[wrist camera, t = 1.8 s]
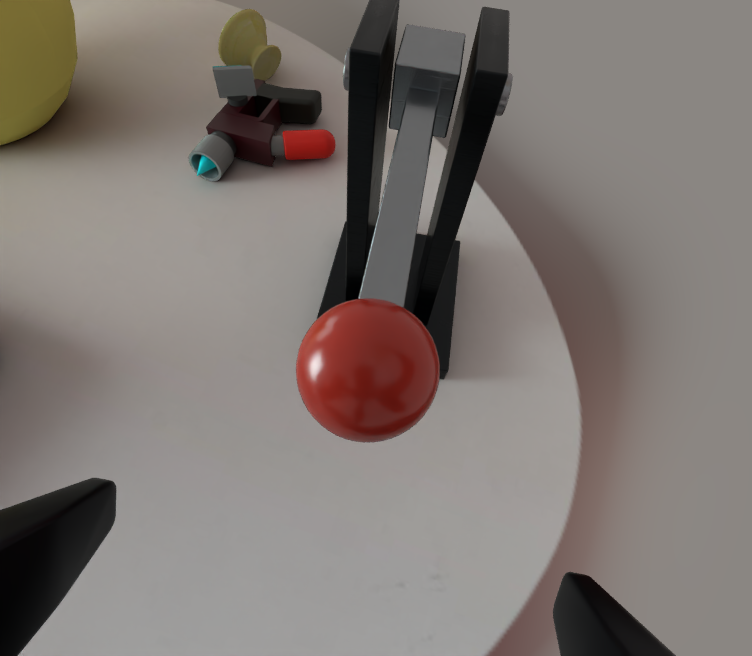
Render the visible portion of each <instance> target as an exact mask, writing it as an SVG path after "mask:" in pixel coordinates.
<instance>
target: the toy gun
mask: <svg viewBox="0 0 752 656" xmlns="http://www.w3.org/2000/svg"><path fill="white" fill-rule="evenodd" d="M213 73H214V77H215V81H216V85H217V89H218V93H219V97H220V98H226V97H227V99H228V103H227V104H226V105H225V106H224V107H223V108H222V110H221V111H220V112H219V113H218V114H217V115H216V116H215V117H214V118H213V120H212V121H211V122H210V123H209V124H208V125H207V127H206V128H207V131H208V135H206V136H205V137H204V138H203V139H202V140H201V142H200V143H199V144H198V145H197V146H196V147H195V149H194V150H193V151H192V152H191V153H190V155H189V163H190V165H191V167H192V168H193V170H194V171H195V172H196V173H197V176H198V175H200V176H201V177H203V178H204V179H206V180H209V181H217V180H219V179H220V178H221V176H222V175H223V174H224V172H225V171H226V170H227V168H228V167H229V166H230V164H231V163H232V162H233V160H234V157H237V158H241V159H245V160H249V161H253V162H256V163H260V164H264V165H268V166H271V167H273V163H274V160H275V156H284V155H285V158H286V159H287V160H299V159H321V158H328V157H330V156H331V155H332V154H333V153H334V151H335V146H336V144H335V139H334V137H333V135H332V134H331V133H330V132H329V131H327V130H323V129H322V130H293V131H283V135H278V136H275V132H276V130H277V129H278V128H279V126H280V125H281V122H294V123H306V124H312V123H314V122H315V121H316V119H317V118H318V116H319V115H320V113H321V111H322V103H321V93H320V92H319V91H316V90H305V89H293V88H282V87H278V86H274V85H270V84H266V83H265V81H263V80H259V79H255V80H254V76H253V70H252V68H251V66H250V65H247V66H242V65H237V66H214V67H213Z"/></svg>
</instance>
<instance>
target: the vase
mask: <svg viewBox="0 0 752 656" xmlns="http://www.w3.org/2000/svg"><path fill="white" fill-rule="evenodd" d="M76 62H77V46H76V33H75V21H74V13H73V9H72V6H71V3H70V0H0V145H4V144H7V143H10V142H12V141H15V140H18V139H21V138H23V137H25V136H27V135H29V134H31V133H33V132H35V131H36V130H38V129H39V128H41V127H42V126H43V125H44V124H46V123H47V122H48V121H49V120H50V119H51V118H52V116H53V115H54V114H55V112H56V111H57V110H58V108H59V107H60V106H61V104H62V103H63V102H64V100H65V99H66V98H67V96H68V92H69V88H70V85H71V81H72V77H73V73H74V70H75V66H76Z"/></svg>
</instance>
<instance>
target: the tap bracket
mask: <svg viewBox="0 0 752 656" xmlns="http://www.w3.org/2000/svg"><path fill="white" fill-rule="evenodd" d="M398 10H399V0H369V2H368V5H367V7H366V10H365V13H364V15H363V17H362V20H361V22H360V25H359V27H358V30H357V32H356V35H355V37H354V40H353V42H352V44H351V47H349V48H348V50H347V52H346V56H345V63H344V71H343V84H344V89H345V90H347V91H349V97H348V164H347V221H346V222H345V224H344V228H343V231H342V235H341V238H340V242H339V245H338V248H337V252H336V255H335V259H334V262H333V265H332V269H331V272H330V276H329V279H328V283H327V286H326V289H325V293H324V296H323V300H322V303H321V307H320V310H319V313H318V317H317V319H318V318H319V317H320V316H321V315H323V314H324V313H325V312H326V311H328V310H329V309H331V308H333V307H334V306H336V305H338V304H341V303H343V302H346V301H350V300H355V299H358V297H359V293H360V289H361V284H362V280H363V276H364V272H365V268H366V263H367V259H368V255H369V251H370V247H371V243H372V238H373V234H374V230H375V226H376V222H377V217H378V213H379V202H380V192H381V182H382V172H383V162H384V152H385V142H386V132H387V122H388V111H389V101H390V91H391V81H392V71H393V61H394V51H395V40H396V30H397V20H398ZM508 60H509V11H508V10H501V9H495V8H489V7H483V8H482V10H481V14H480V19H479V23H478V27H477V31H476V35H475V39H474V43H473V47H472V51H471V56H470V60H469V64H468V68H467V72H466V77H465V81H464V84H463V89H462V93H461V97H460V101H459V105H458V109H457V114H456V118H455V122H454V126H453V130H452V134H451V138H450V142H449V146H448V151H447V155H446V159H445V163H444V167H443V171H442V175H441V180H440V184H439V188H438V192H437V196H436V200H435V204H434V208H433V213H432V217H431V221H430V225H429V229H428V233H427V235H422V234H417V233H416V238H415V244H414V250H413V256H412V262H411V268H410V274H409V280H408V286H407V292H406V298H405V304H404V308H405V309H407V310H408V311H410V312H411V313H412V314H414V315H415V316H416V317H417V318H418V319H419V320H420V321H421V322H422V323H423V325H424V326H425V327H426V328H427V330H428V331H429V333H430V335H431V336H432V338H433V341H434V343H435V345H436V349H437V352H438V356H439V364H440V377H439V379H444V378H445V376H446V374H447V372H448V369H449V358H450V347H451V337H452V326H453V315H454V304H455V294H456V283H457V272H458V261H459V251H460V241H456V240H455V238H456V235H457V232H458V229H459V226H460V223H461V220H462V217H463V214H464V211H465V207H466V204H467V201H468V198H469V195H470V192H471V189H472V186H473V183H474V180H475V176H476V173H477V171H478V167H479V164H480V161H481V158H482V155H483V152H484V149H485V146H486V143H487V140H488V136H489V133H490V131H491V127H492V124H493V121H494V118H495V115H497V116H501V115H502V114H503V112H504V110H505V108H506V105H507V102H508V99H509V95H510V91H511V86H512V78H513V77H512V74H511V73H508Z"/></svg>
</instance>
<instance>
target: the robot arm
mask: <svg viewBox="0 0 752 656" xmlns="http://www.w3.org/2000/svg"><path fill="white" fill-rule="evenodd" d="M115 516H116V485H115V483H114V482H113V481H110V480H105V479H100V478H91V479H88V480H85V481H82V482H79V483H76V484H73V485H71V486H68V487H65V488H62V489H59V490H56V491H54V492H51V493H48V494H45V495H42V496H39V497H36V498H34V499H31V500H28V501H25V502H22V503H19V504H17V505H14V506H11V507H8V508H5V509H2V510H0V656H18V655H19V653H20V652H21V651H22V650H23V648H24V647H25V646H26V645H27V644H28V642H29V641H30V640H31V639H32V637H33V636H34V635H35V634H36V633H37V631H38V630H39V629H40V628H41V626H42V625H43V624H44V623H45V622H46V620H47V619H48V618H49V617H50V615H51V614H52V613H53V611H54V610H55V609H56V608H57V606H58V605H59V604H60V602H61V601H62V600H63V598H64V597H65V595H66V594H67V593H68V591H69V590H70V588H71V587H72V585H73V584H74V583H75V581H76V580H77V578H78V577H79V575H80V574H81V572H82V571H83V569H84V568H85V566H86V565H87V563H88V562H89V561H90V559H91V558H92V556H93V555H94V553H95V552H96V550H97V549H98V547H99V546H100V544H101V543H102V542H103V540H104V539H105V537H106V536H107V534H108V533H109V531H110V530H111V528H112V526H113V524H114V521H115ZM553 618H554V624H555V629H556V634H557V639H558V644H559V649H560V655H561V656H676V655H674V654H673V653H672V652H671V651H670V650H669V649H668V648H667V647H666V646H665V645H664V644H662V642H660V641H659V640H658V639H657V638H656V637H655V636H654V635H653V634H652V633H651V632H650V631H648V630H647V629H646V628H645V627H644V626H643V625H642V624H641V623H640V622H639V621H638V620H636V619H635V618H634V617H633V616H632V615H631V614H630V613H629V612H628V611H627V610H626V609H624V608H623V607H622V606H621V605H620V604H619V603H618V602H617V601H616V600H615V599H614V598H612V597H611V596H610V595H609V594H608V593H607V592H606V591H605V590H604V589H603V588H602V587H601V586H600V585H598V584H597V583H596V582H595V581H594V580H593V579H592V578H591V577H589V576H587V575H583V574H578V573H573V572H568V573H566V574H565V575H564V577H563V579H562V582H561V585H560V588H559V591H558V594H557V597H556V600H555V603H554V608H553Z"/></svg>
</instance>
